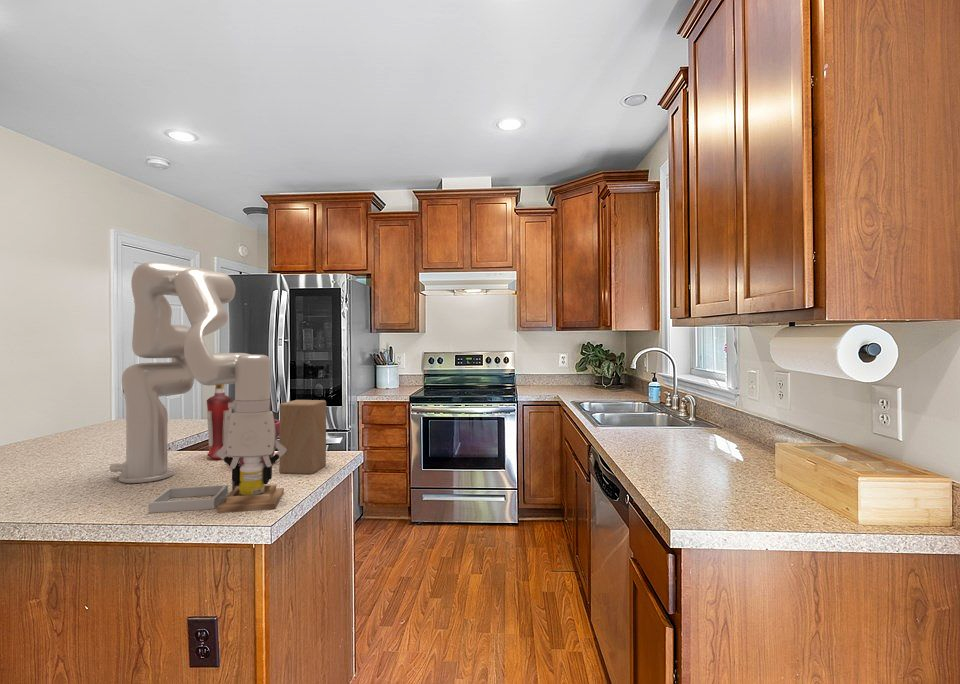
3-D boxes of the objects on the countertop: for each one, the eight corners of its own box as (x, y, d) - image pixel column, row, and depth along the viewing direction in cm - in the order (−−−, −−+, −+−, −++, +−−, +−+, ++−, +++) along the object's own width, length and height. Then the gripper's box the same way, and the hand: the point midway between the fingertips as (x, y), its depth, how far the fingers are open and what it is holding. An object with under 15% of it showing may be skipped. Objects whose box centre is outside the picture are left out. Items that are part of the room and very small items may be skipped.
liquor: (209, 456, 161) (209, 370, 161) (233, 454, 163) (234, 370, 163) (204, 461, 154) (204, 372, 154) (229, 459, 156) (230, 371, 156)
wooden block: (326, 465, 150) (326, 400, 150) (312, 474, 140) (312, 404, 140) (295, 464, 151) (295, 399, 151) (278, 473, 141) (278, 403, 141)
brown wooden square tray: (217, 512, 109) (217, 500, 109) (231, 495, 121) (231, 484, 121) (275, 508, 112) (275, 496, 112) (283, 492, 123) (283, 482, 123)
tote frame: (148, 513, 108) (148, 503, 108) (168, 497, 119) (168, 488, 119) (214, 508, 111) (214, 499, 111) (227, 493, 122) (227, 484, 122)
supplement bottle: (244, 492, 119) (245, 452, 119) (267, 493, 119) (268, 452, 119) (234, 500, 113) (236, 457, 113) (259, 500, 114) (260, 458, 114)
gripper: (207, 410, 111) (207, 490, 111) (288, 408, 114) (288, 486, 114) (217, 405, 118) (216, 481, 118) (293, 404, 122) (293, 477, 122)
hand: (252, 482), depth 116 cm, fingers open, 5 cm apart
